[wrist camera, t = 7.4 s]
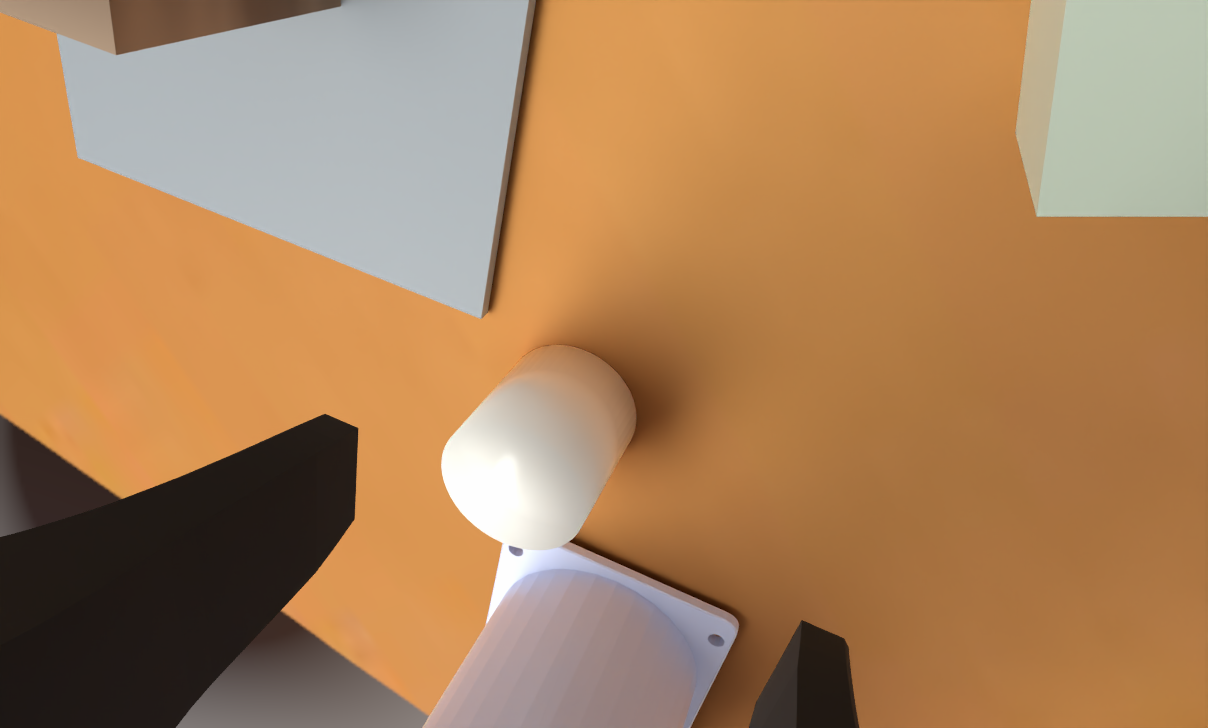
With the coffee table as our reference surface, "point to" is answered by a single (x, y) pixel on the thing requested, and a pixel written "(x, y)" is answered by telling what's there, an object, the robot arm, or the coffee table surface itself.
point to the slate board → (329, 131)
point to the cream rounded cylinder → (540, 448)
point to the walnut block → (152, 18)
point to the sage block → (1116, 108)
